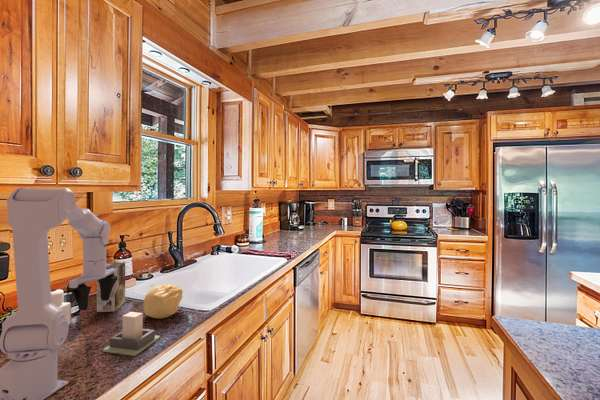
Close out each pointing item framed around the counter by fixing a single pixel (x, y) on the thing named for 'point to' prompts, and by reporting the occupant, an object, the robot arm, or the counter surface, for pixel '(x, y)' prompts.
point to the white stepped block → (61, 303)
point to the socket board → (131, 343)
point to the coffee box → (113, 290)
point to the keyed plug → (132, 325)
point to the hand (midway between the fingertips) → (94, 304)
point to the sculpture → (162, 301)
